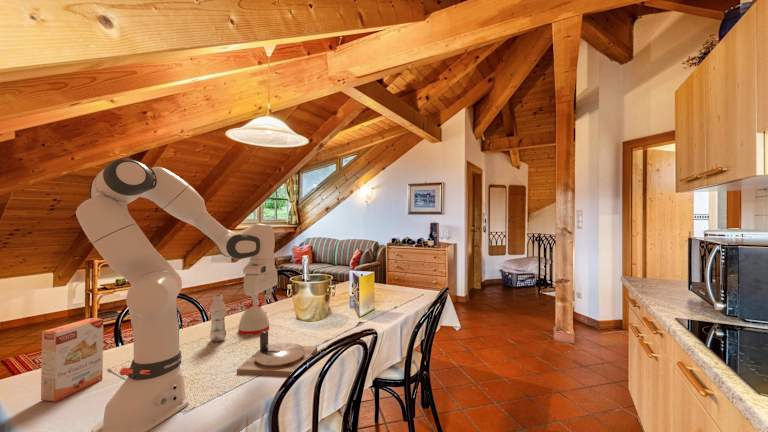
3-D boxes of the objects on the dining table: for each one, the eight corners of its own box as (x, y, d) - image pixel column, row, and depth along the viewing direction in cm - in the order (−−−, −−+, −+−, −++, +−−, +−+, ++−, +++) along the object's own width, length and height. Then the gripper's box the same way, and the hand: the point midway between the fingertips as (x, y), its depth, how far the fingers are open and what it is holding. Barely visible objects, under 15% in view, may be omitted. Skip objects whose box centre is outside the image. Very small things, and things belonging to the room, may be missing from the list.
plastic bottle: (223, 336, 149) (222, 293, 149) (228, 340, 145) (228, 295, 145) (207, 340, 145) (207, 295, 145) (212, 344, 140) (212, 298, 140)
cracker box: (56, 403, 97) (56, 332, 97) (40, 401, 98) (39, 331, 98) (104, 379, 110) (104, 317, 110) (89, 378, 111) (89, 316, 111)
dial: (312, 349, 131) (312, 327, 131) (288, 369, 113) (288, 345, 113) (273, 344, 135) (273, 324, 135) (244, 363, 118) (243, 340, 118)
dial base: (297, 376, 112) (297, 371, 112) (236, 373, 114) (236, 368, 114) (317, 350, 134) (317, 345, 134) (265, 348, 136) (265, 343, 136)
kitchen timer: (272, 330, 157) (272, 299, 157) (242, 337, 149) (241, 304, 149) (264, 323, 168) (264, 294, 168) (236, 328, 161) (235, 298, 161)
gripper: (267, 262, 136) (266, 295, 136) (240, 269, 115) (240, 309, 115) (281, 262, 135) (281, 295, 135) (257, 270, 115) (257, 309, 115)
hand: (262, 302), depth 125 cm, fingers open, 8 cm apart
